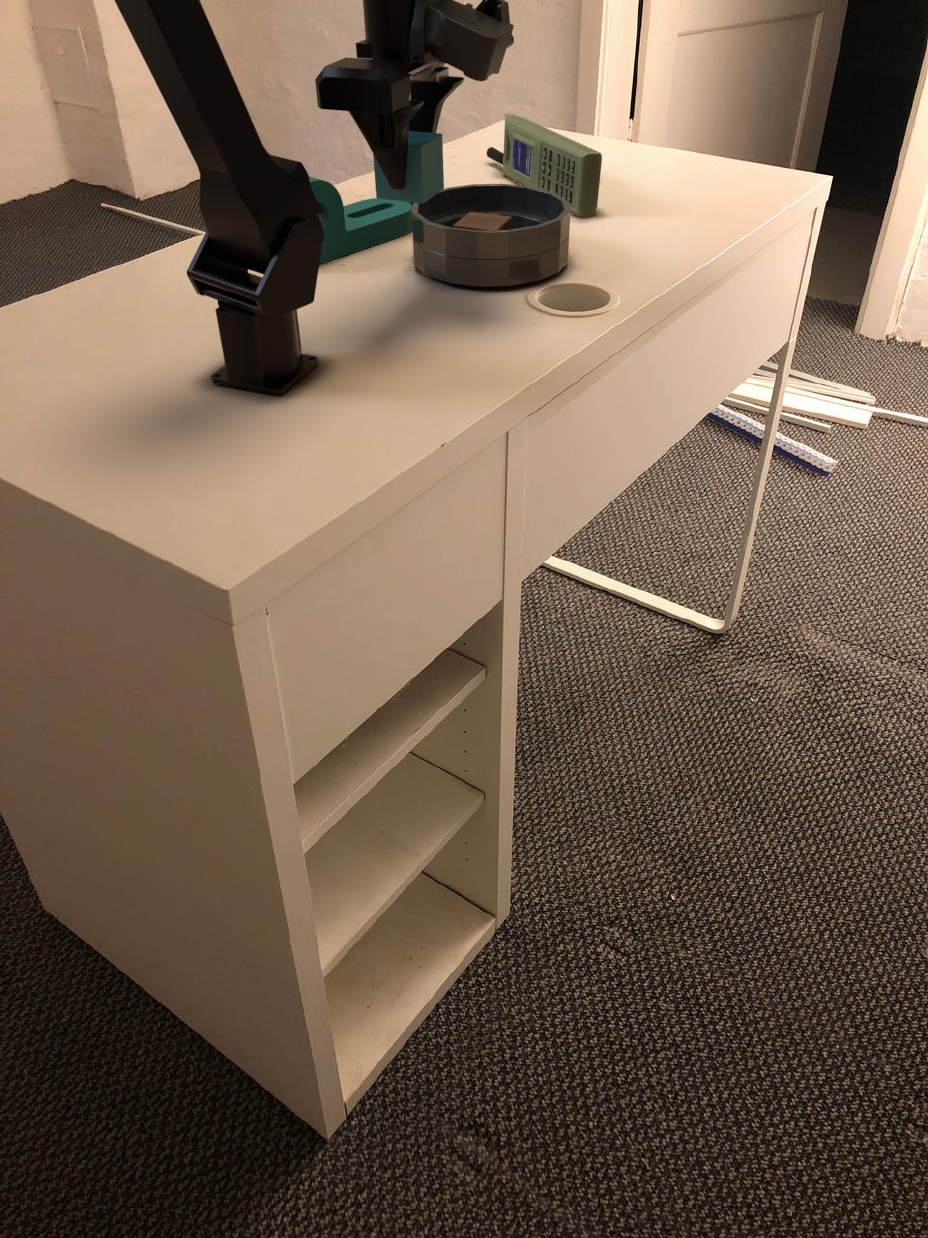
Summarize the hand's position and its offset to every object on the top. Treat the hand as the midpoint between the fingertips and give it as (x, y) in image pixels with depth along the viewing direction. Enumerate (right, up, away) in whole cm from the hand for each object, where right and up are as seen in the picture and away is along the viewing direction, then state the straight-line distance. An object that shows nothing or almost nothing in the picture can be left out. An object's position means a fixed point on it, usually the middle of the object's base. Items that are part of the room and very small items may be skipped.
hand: (409, 180), depth 84 cm
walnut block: (+6, -3, +13) cm, 15 cm away
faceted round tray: (+7, -1, +15) cm, 17 cm away
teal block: (0, -1, +1) cm, 1 cm away
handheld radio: (+13, +15, +35) cm, 41 cm away
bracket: (-8, +3, +21) cm, 23 cm away
